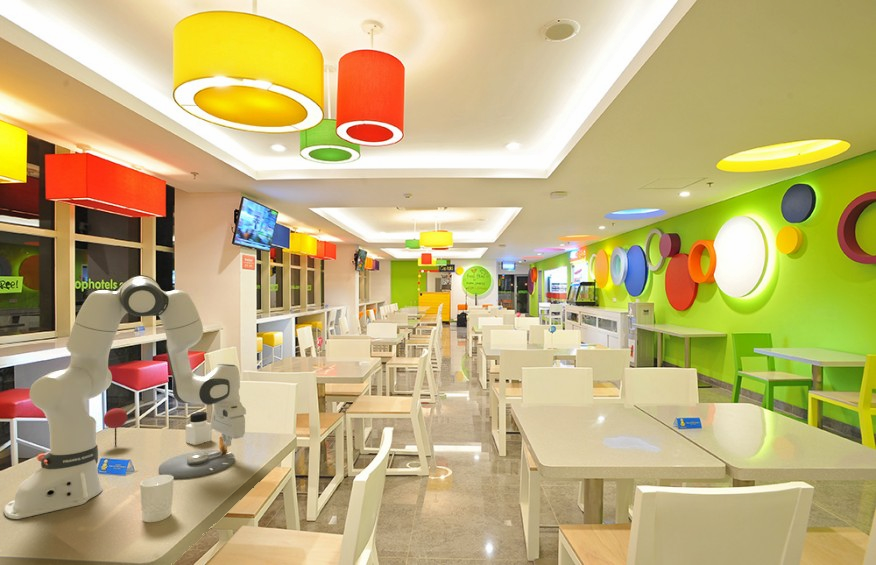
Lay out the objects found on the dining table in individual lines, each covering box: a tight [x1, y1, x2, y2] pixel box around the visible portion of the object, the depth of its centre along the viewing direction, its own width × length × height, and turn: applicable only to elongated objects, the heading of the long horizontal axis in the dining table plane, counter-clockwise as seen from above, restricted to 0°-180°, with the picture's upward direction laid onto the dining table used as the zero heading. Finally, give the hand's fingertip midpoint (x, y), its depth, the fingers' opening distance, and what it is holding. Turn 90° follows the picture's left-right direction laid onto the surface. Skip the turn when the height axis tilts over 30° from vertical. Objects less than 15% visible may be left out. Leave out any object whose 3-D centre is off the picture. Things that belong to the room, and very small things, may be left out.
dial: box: [187, 436, 228, 465], centre depth 169 cm, size 14×7×6 cm, turn 138°
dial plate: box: [158, 449, 235, 480], centre depth 166 cm, size 24×24×1 cm
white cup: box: [139, 474, 174, 523], centre depth 129 cm, size 8×8×10 cm
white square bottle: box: [185, 410, 212, 446], centre depth 193 cm, size 7×7×12 cm
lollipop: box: [103, 407, 128, 447], centre depth 188 cm, size 8×8×15 cm
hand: (227, 445), depth 171 cm, fingers closed
